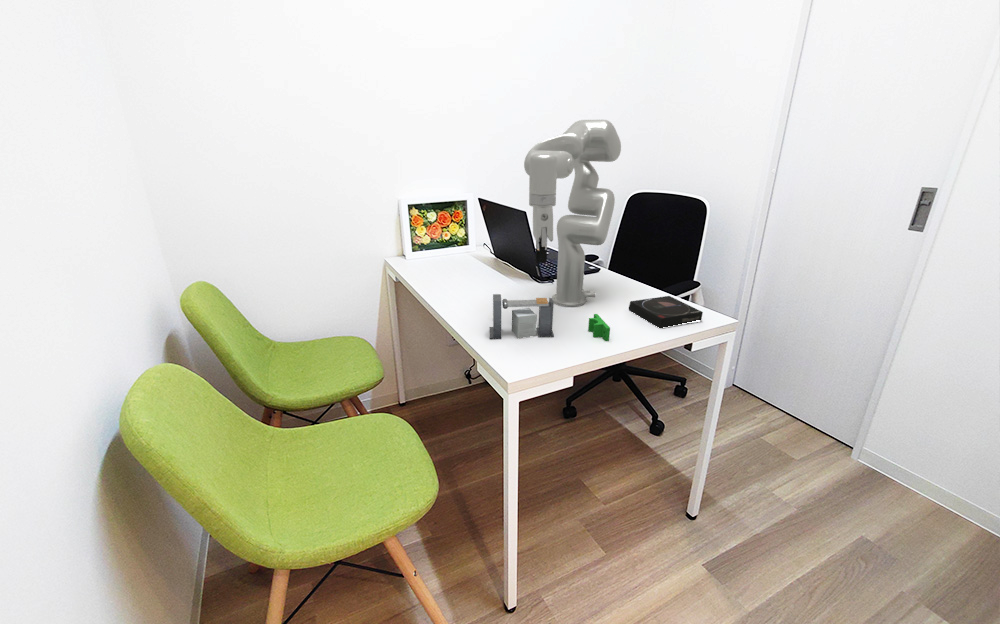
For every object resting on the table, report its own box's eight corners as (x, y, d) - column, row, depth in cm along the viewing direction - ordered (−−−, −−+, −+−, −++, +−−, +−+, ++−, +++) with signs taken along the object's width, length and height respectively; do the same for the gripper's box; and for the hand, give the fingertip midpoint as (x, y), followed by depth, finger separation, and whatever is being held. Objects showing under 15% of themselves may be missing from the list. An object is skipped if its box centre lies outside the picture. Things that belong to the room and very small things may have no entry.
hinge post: (500, 328, 142) (500, 293, 137) (501, 339, 134) (501, 302, 130) (489, 328, 142) (489, 293, 137) (489, 339, 134) (489, 302, 130)
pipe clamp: (584, 327, 143) (585, 314, 141) (596, 326, 144) (597, 313, 142) (597, 342, 133) (598, 328, 131) (609, 341, 133) (610, 327, 132)
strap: (546, 302, 137) (547, 297, 136) (548, 308, 133) (548, 302, 132) (502, 303, 137) (502, 298, 136) (502, 308, 133) (502, 303, 132)
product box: (511, 331, 140) (511, 309, 137) (529, 328, 142) (529, 307, 139) (517, 339, 135) (517, 316, 132) (536, 336, 136) (536, 314, 134)
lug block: (551, 329, 141) (552, 296, 137) (553, 337, 136) (555, 303, 132) (536, 329, 141) (537, 296, 137) (538, 337, 136) (539, 303, 132)
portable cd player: (666, 305, 162) (668, 295, 160) (700, 323, 147) (702, 312, 145) (628, 311, 157) (629, 300, 155) (659, 330, 142) (661, 318, 140)
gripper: (560, 204, 119) (557, 269, 126) (551, 195, 132) (549, 254, 140) (532, 204, 118) (531, 270, 126) (526, 195, 132) (526, 255, 139)
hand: (541, 262), depth 133 cm, fingers closed
